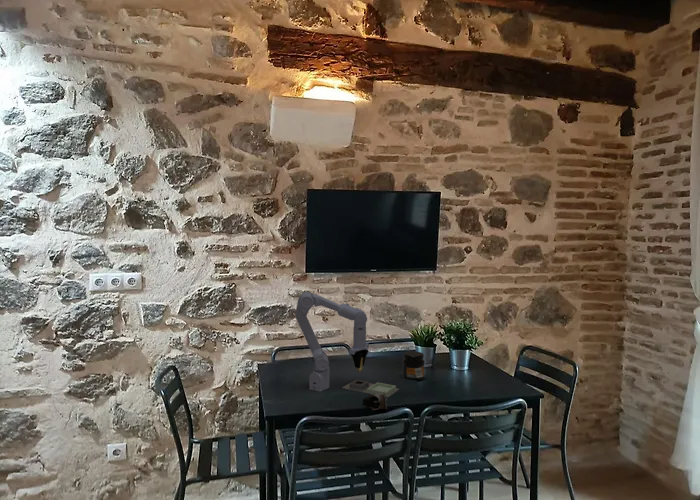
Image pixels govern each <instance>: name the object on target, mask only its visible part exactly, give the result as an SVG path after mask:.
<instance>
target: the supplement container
mask: <svg viewBox="0 0 700 500" xmlns="http://www.w3.org/2000/svg"><path fill="white" fill-rule="evenodd" d="M424 356H425V355H424V353H423V352H421V351H414V350H413V351H412V350H411V351H405V352H404V353H403V359H402V378H403V379H405V380H410V381H417V382H419V381H422V380H424V378H425V360H424V358H425V357H424Z"/></svg>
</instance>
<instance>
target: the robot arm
mask: <svg viewBox="0 0 700 500" xmlns="http://www.w3.org/2000/svg"><path fill="white" fill-rule="evenodd" d="M320 306H321V307H324V308H327V309H329V310H332V311H335V312H336V313H337V314H338V316H340V317H342V318H345V319H348V320H349V321H353V339H352V342H353V345H352V347H351V348H350V349H349V355H350V356H351V358H352V361H353V364H354V367H355V368H356V369H357V368H360V364H361V358H362V357H363V367H364V366H365V362H366V358H367V356H368V353H369V347H370V343H368V342H367V327H366V326H367V321H368V317H367V314H366V312H365V311H364V310H362V309H360V308H358V307H354V306H351V305H350V304H349V303H347V302H346V303H340V304H339V303H336V302H334V301H332V300H330V299H328V298H325V297H324V296H321V295H318V294H317V293H311V292H309V291H303V292H302V293H301V294H300V296H299V297H298V299H297V303H296V309H295V315H294V316H295V320H296V322H297V324H298V326H299V328H300V330H301V333H302V335H303V336H304V339H305V341H306V343H307V345H308V347H309V349H310V351H311V354H312V357H313V360H314V367H313V370H312V372H311V373H310V374H309V378H308V383H309V384H308V387H309V390H310V391H316V392H322V391H324V390H327V389H329V388H330V381H331V380H330V378H331V377H330V361H329V356H328V354H327V353H326V352H325V351H324V350H323V348H322V347H321V345H320V342H319V341H318V338H317V336H316V333H315V331H314V329H313V328H312V325H311V323H310V320H309V319H308V313H309V311H310V310H311V309H312V308H313V307H320Z"/></svg>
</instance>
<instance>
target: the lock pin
mask: <svg viewBox="0 0 700 500" xmlns="http://www.w3.org/2000/svg"><path fill="white" fill-rule="evenodd" d="M363 368H364V366H363V357H362V358H361V364H360V368H356V372H358V373H361V372H364V370H363Z"/></svg>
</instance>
